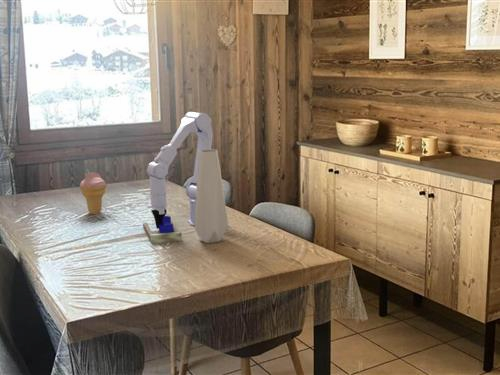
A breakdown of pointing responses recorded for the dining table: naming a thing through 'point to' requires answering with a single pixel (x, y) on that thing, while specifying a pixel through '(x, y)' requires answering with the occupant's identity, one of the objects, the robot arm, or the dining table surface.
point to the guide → (162, 235)
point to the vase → (210, 198)
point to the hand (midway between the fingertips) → (159, 228)
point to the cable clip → (166, 225)
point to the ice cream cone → (93, 191)
